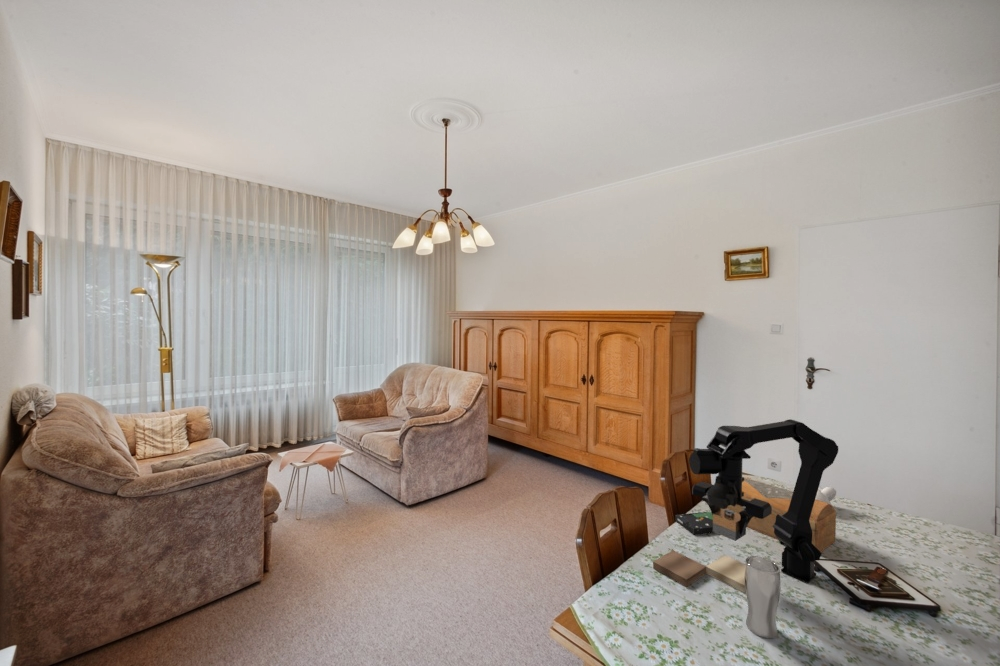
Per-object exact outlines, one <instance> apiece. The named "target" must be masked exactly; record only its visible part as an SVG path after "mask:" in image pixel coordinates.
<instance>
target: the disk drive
mask: <svg viewBox="0 0 1000 666" xmlns="http://www.w3.org/2000/svg"><path fill="white" fill-rule="evenodd" d="M674 516H675V517H674V518H675V520H674V521H675V522H676V523H677V524H679V525H680V526H681V527H682V528H684V529H685V530H687V532H689V534H691V535H692V536H699V535H700V536H701V535H707V534H708V535H710V534H716V533H715V532H713V515H712V512H711V511H703V512H702V511H701V512H700V511H699V512H692V513H681V514H675V515H674Z"/></svg>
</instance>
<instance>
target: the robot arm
mask: <svg viewBox="0 0 1000 666" xmlns="http://www.w3.org/2000/svg"><path fill="white" fill-rule="evenodd" d="M791 438H792V439H793V440H794V441H795V442H797V443H798V449H797V450H798V452H797V453H798V455H799V458H800V462H801V463H800V464H801V465H800V467H799V471H798V475H797V479H796V482H795V485H794V489H793V491H792V492H793V495H792V498H791V502H790V505H789V509H788V511H787V512H786V513H785V514H783V515H782V516H781V515H779V514H777V516H776V521H775V524H774V525H773V527H774V534H775V535H776V537H777V538H778V539H779V540H778V542H779V544H780V545H782V546H783V551H782V552H781V567H782V568H780V572H782V573H784V574H785V575H788V576H790V577H792V578H795V579H797V580H799V581H801V582H804V583H807V584H809V583H811V581H812V580H814V578H815V577H816V576H817V573H816V572H815V561H820V559H821V557H822V553H823V552H822V551H821V552H820V551H819V550H818V549H817V548H816V547H815V546H814V545H813V544H812V535H813V533H812V529H811V525H810V522H809V519H810V516H811V512H812V509H813V505H814V502H815V498H816V495H817V491H818V488H819V486H820V484H821V480H822V477H823V474H824V472H825V470H826V469H827V468H829V467H831V465H832V464H833V463H834V462H835V460H836V457H837V456H838V453H839V445H837V443H836V441H834V440H833V439H831V438H828V437H825V436H824V435H822V434H820V433H819V432H817V431H815V430H814V429H812V428H811V427H810V426H807V425H806V424H805V423H804V422H801V421H797V420H795V419H785V420H784V421H778V422H772V423H770V422H769V423H764V424H759V425H753V426H740V425H739V426H738V425H722V426H719V427H717V430H716V432H715V434H714V436H713V437H712V438H711V439H710V441H709V442H708V443H707V445H706V448H696V447H694V448H693V451H692V453H690V456H689V457H688V463H689V468H690V470H691V472H692V474H694V475H717V476H715V482H714V484H713V483H709V482H706V481H700V482H697V483H696V484H693V485H692V488H691V494H692V495H693V496H696V497H699V498H701V501H702V502H705V503H706V504H707V506H708V507H709V511H710V512H712V515H713V514H714V513H716V512H717V511H719V510H721V509H726V508H727V507H728V506H729V505H731V506H735V505H736V504H737V505H740V506H742V507H743V510H742V511H741V512H739V514H740V516H741V518H740V534H741V535H742V534H743V533H744V531H745V529H746V530H747V525H748V523H749V522H750V520H751V518H752V517H757V518H759V519H764V518H765V517H767V516H768V515H770V514H772V507H771V505H770V504H769V503H768V502H765V501H762V500H759V499H756V498H754V499H753V500H751V501H748V500H745V499H742V497H743V496H744V492H742V482H743V481H744V478H745V477H744V476H743V459H745V460H747V459H751V457H752V456H751V455H749V454H748V453H747V452H746V450H748V449H751V448H752V447H753V446H754V445H756V444H761V443H765V442H766V443H768V442H773V441H779V440H785V439H791ZM721 446H722V447H721Z"/></svg>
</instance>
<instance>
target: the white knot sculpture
mask: <svg viewBox="0 0 1000 666" xmlns="http://www.w3.org/2000/svg"><path fill="white" fill-rule="evenodd" d="M836 496H837V490H836V489H835V487H833V486H826V487H824V488H822V486H821V485H819V488H818V491H817V495H816V498H815V499H817V500H820V501H823V502H826V503H828V504H830V505H832V503H831V501H832V500H833V499H835V498H836Z"/></svg>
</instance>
